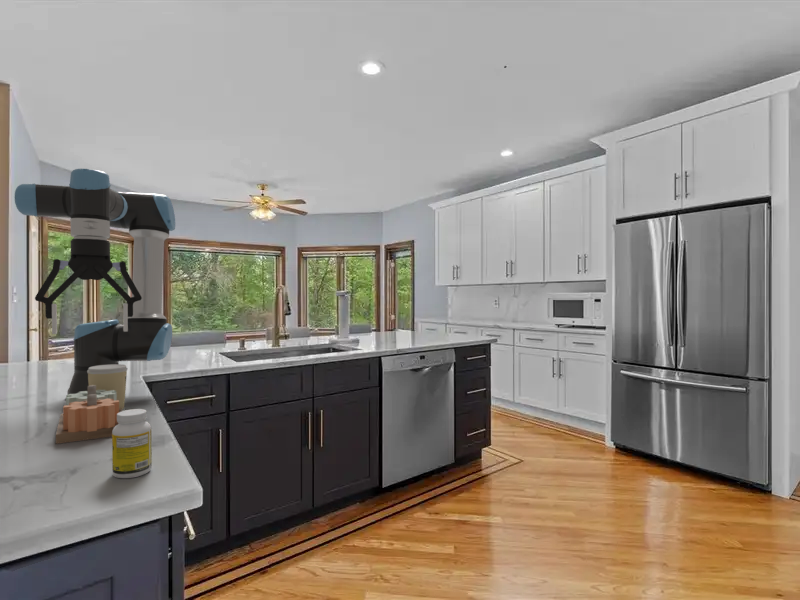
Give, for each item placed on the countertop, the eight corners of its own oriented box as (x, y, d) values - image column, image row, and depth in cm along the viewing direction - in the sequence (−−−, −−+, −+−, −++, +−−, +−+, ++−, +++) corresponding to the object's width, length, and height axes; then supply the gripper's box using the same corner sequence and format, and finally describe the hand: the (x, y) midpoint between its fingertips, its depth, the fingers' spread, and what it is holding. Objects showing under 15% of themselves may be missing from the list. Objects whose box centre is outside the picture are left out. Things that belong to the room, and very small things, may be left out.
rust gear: (64, 423, 110) (64, 401, 110) (117, 417, 116) (117, 396, 116) (62, 435, 101) (62, 411, 101) (120, 427, 107) (120, 405, 107)
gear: (58, 415, 117) (58, 394, 117) (104, 406, 126) (104, 388, 126) (77, 422, 111) (77, 400, 111) (124, 412, 120) (124, 393, 120)
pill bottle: (122, 466, 89) (122, 408, 89) (157, 466, 89) (157, 407, 89) (105, 480, 83) (104, 416, 82) (142, 479, 83) (142, 416, 83)
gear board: (60, 422, 118) (60, 385, 118) (121, 415, 125) (121, 381, 125) (55, 443, 102) (55, 401, 101) (125, 434, 109) (126, 395, 109)
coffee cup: (135, 408, 133) (135, 365, 133) (104, 416, 124) (104, 370, 124) (110, 405, 136) (110, 363, 136) (78, 413, 127) (78, 368, 127)
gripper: (18, 233, 98) (19, 336, 99) (153, 241, 112) (154, 331, 113) (22, 236, 105) (23, 333, 105) (150, 243, 118) (150, 328, 119)
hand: (91, 332), depth 109 cm, fingers open, 13 cm apart
